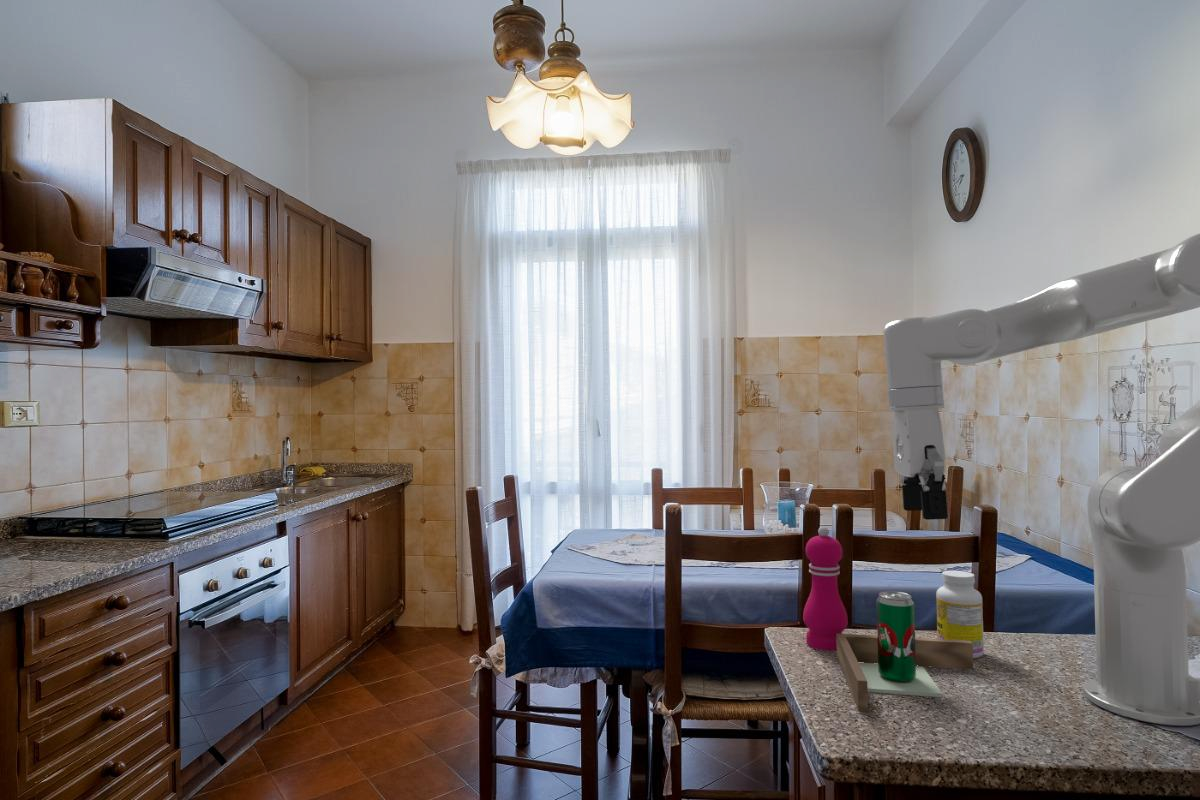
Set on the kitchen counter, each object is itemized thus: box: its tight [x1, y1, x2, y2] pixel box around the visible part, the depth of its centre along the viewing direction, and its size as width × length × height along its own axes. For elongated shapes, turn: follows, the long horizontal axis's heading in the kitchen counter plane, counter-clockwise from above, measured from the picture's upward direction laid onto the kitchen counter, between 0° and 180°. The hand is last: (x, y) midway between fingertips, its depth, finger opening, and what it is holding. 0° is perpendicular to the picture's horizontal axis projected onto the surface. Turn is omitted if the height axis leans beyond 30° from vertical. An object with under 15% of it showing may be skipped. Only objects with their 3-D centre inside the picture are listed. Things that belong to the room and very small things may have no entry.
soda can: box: [876, 590, 916, 683], centre depth 96 cm, size 5×5×12 cm
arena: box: [836, 633, 974, 713], centre depth 94 cm, size 20×19×4 cm
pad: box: [859, 663, 944, 698], centre depth 96 cm, size 10×10×1 cm
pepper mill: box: [802, 526, 849, 652], centre depth 112 cm, size 7×7×20 cm
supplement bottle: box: [935, 570, 985, 659], centre depth 108 cm, size 7×7×13 cm
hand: (924, 514), depth 98 cm, fingers open, 9 cm apart
